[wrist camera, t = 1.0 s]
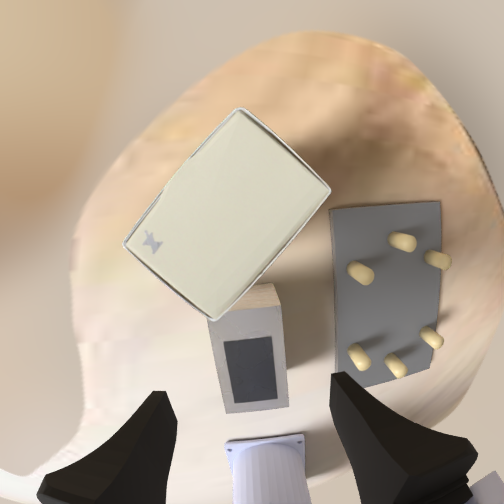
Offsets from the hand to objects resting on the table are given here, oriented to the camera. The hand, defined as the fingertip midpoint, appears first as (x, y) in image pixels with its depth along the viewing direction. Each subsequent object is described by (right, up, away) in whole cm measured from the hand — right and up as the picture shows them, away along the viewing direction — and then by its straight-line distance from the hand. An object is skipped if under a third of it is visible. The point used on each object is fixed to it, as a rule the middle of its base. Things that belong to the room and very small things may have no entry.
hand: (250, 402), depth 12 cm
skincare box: (-1, +10, +10) cm, 14 cm away
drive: (0, 0, +11) cm, 12 cm away
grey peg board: (+12, +2, +11) cm, 16 cm away
